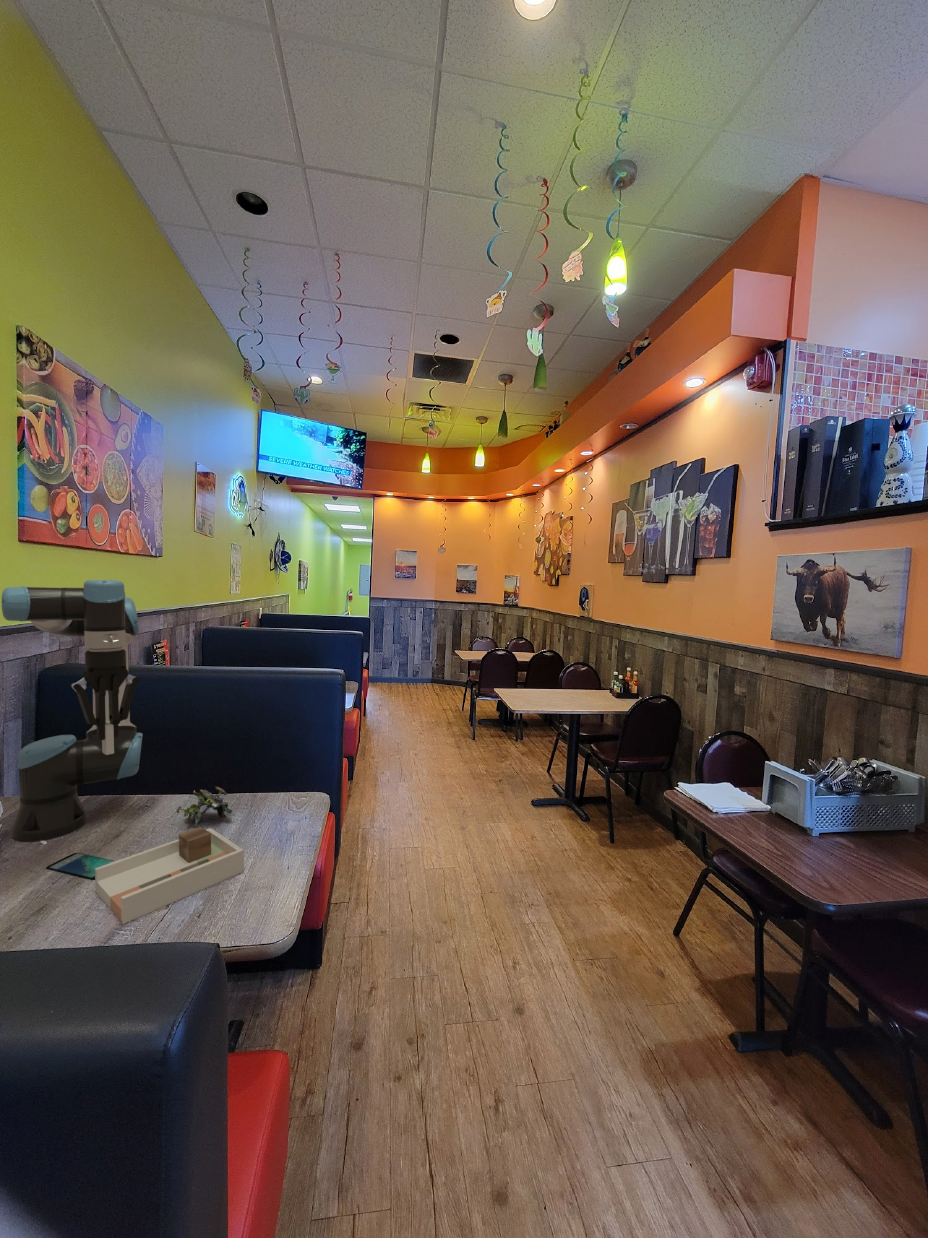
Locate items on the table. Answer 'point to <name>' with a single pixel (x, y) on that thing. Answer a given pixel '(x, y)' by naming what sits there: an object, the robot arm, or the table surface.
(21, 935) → the table surface
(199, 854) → the walnut block
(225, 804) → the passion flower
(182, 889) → the tray
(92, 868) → the smartphone
